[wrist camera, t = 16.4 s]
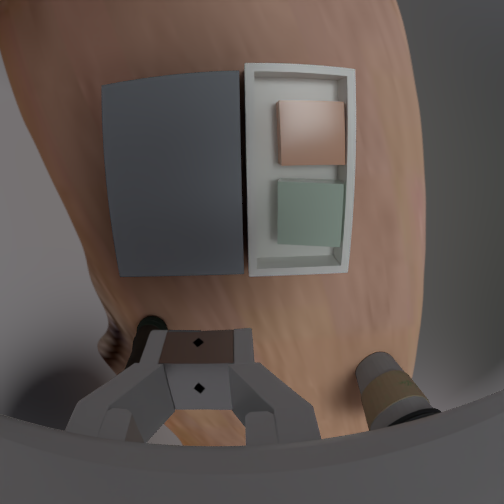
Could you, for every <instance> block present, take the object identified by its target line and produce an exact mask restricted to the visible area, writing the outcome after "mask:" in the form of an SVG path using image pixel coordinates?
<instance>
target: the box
mask: <svg viewBox="0 0 504 504" xmlns="http://www.w3.org/2000/svg"><path fill="white" fill-rule="evenodd" d="M279 100H312V101H340V102H344V118H345V165H293V166H281V165H280V164H279V163H278V143H277V120H276V102H278V101H279ZM244 104H245V155H246V202H247V246H248V270H249V277H254V276H281V275H306V274H327V273H348V265H349V255H350V244H351V232H352V219H353V204H354V185H355V158H356V82H355V69H350V68H341V67H331V66H319V65H305V64H284V63H245V65H244ZM280 178H302V179H326V180H342V182H343V184H344V194H343V213H342V229H341V242H340V247H326V246H306V245H286V244H277V235H278V181H279V179H280Z"/></svg>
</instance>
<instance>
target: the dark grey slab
mask: <svg viewBox="0 0 504 504" xmlns="http://www.w3.org/2000/svg"><path fill="white" fill-rule="evenodd" d="M102 128H103V146H104V161H105V173H106V183H107V193H108V202H109V210H110V218H111V225H112V232H113V239H114V245H115V252H116V258H117V263H118V269H119V274H120V277H141V276H190V275H227V274H244V258H243V222H242V183H241V139H240V89H239V71H214V72H198V73H186V74H175V75H166V76H158V77H150V78H143V79H136V80H130V81H123V82H118V83H112V84H107V85H102Z"/></svg>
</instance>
